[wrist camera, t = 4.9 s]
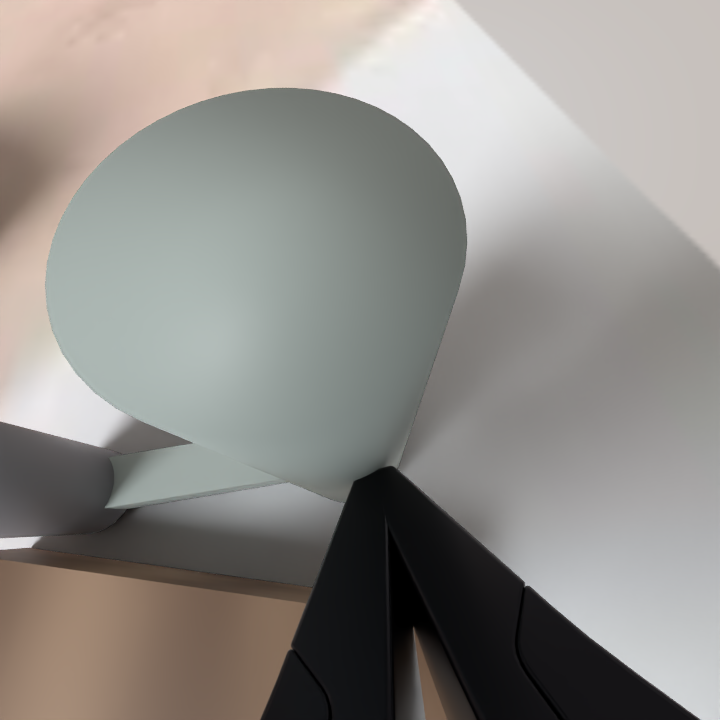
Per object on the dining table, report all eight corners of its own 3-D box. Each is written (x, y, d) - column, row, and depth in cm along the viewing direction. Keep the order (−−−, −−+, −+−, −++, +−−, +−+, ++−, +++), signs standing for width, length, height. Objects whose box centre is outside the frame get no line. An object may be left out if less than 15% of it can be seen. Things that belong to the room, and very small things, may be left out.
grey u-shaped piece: (48, 553, 13) (-1288, 688, 3) (61, 445, 15) (-790, 247, 4) (410, 493, 13) (522, 392, 3) (390, 392, 15) (417, 65, 4)
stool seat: (-235, 1245, 9) (-455, 1506, 6) (133, 273, 18) (96, 236, 16) (404, 1451, 8) (415, 1858, 5) (449, 296, 17) (460, 260, 14)
